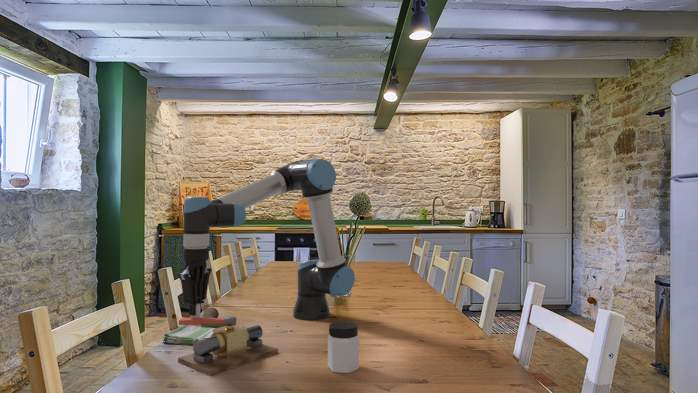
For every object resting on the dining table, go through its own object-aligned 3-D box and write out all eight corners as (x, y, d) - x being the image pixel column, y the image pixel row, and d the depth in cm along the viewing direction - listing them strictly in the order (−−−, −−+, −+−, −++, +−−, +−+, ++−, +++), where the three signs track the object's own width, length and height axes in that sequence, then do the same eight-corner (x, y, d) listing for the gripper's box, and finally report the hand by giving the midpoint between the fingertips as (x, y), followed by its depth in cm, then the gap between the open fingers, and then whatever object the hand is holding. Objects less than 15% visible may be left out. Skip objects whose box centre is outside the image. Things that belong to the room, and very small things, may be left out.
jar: (342, 360, 129) (342, 319, 129) (364, 367, 124) (364, 324, 124) (321, 368, 122) (321, 325, 123) (343, 376, 117) (343, 331, 117)
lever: (236, 321, 133) (237, 316, 133) (235, 324, 130) (235, 319, 130) (181, 322, 131) (181, 317, 131) (178, 326, 128) (178, 320, 128)
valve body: (251, 341, 142) (251, 315, 142) (265, 346, 138) (266, 318, 138) (189, 360, 125) (190, 329, 125) (204, 365, 120) (204, 334, 121)
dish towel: (185, 330, 160) (185, 321, 160) (246, 333, 158) (246, 323, 158) (160, 345, 143) (160, 334, 143) (228, 348, 141) (228, 337, 141)
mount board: (244, 342, 146) (244, 338, 146) (277, 352, 136) (277, 348, 136) (178, 361, 127) (178, 357, 127) (210, 375, 117) (210, 370, 117)
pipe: (230, 319, 157) (244, 308, 167) (190, 315, 162) (205, 305, 171) (231, 336, 158) (245, 324, 168) (191, 332, 162) (206, 321, 172)
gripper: (199, 245, 140) (197, 318, 140) (171, 249, 128) (169, 330, 127) (219, 246, 138) (218, 321, 137) (192, 250, 126) (191, 332, 125)
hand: (194, 325), depth 132 cm, fingers closed
